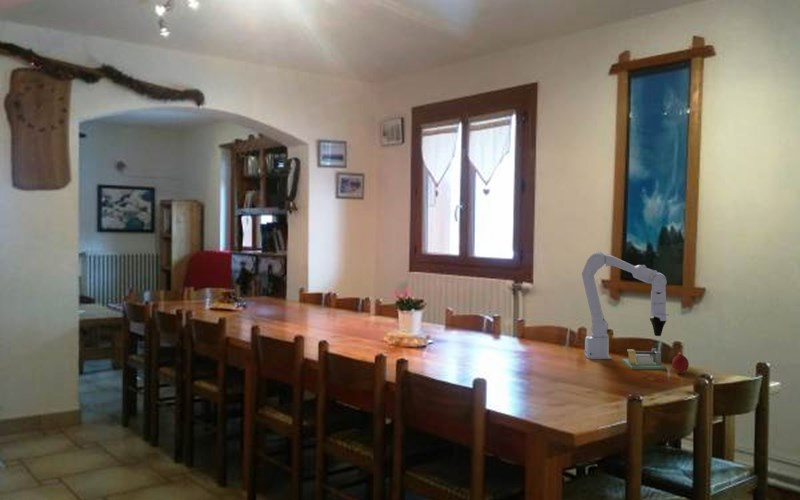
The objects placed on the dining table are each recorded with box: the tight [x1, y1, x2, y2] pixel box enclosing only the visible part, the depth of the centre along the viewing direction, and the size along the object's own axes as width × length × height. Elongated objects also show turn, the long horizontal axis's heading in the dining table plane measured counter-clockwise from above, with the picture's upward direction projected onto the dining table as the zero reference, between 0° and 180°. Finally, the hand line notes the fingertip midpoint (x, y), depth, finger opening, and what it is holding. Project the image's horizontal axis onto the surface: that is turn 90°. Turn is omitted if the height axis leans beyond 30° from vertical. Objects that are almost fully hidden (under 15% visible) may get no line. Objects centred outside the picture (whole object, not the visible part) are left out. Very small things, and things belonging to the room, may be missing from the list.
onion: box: [671, 351, 690, 374], centre depth 255 cm, size 6×6×8 cm
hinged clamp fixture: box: [621, 348, 666, 371], centre depth 268 cm, size 13×14×6 cm
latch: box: [626, 348, 636, 365], centre depth 267 cm, size 2×4×5 cm, turn 176°
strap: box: [627, 350, 657, 355], centre depth 268 cm, size 11×4×1 cm, turn 86°
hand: (657, 335), depth 275 cm, fingers closed
